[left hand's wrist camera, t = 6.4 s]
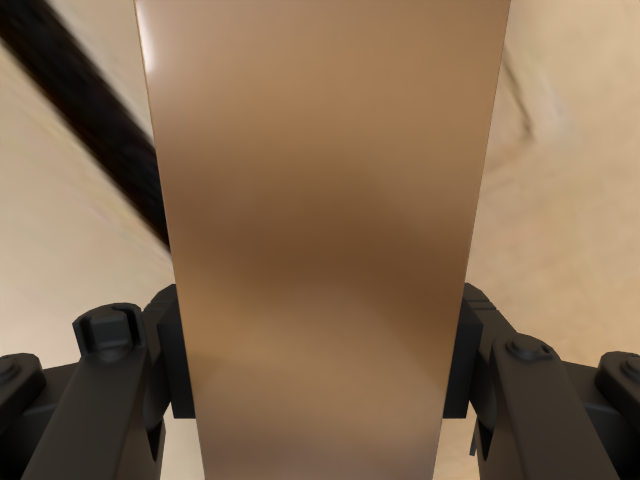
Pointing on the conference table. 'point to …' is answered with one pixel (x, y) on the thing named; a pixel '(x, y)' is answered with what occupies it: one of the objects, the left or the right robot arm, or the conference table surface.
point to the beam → (320, 220)
